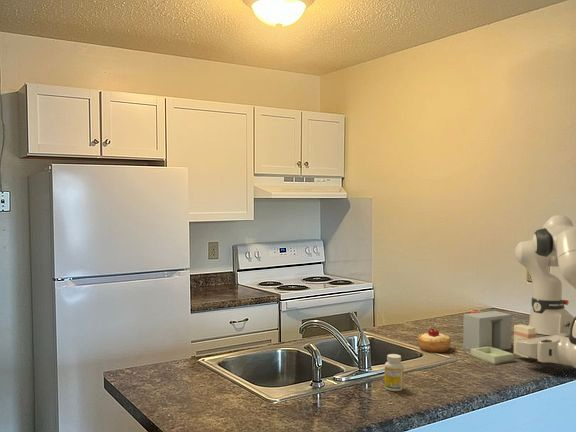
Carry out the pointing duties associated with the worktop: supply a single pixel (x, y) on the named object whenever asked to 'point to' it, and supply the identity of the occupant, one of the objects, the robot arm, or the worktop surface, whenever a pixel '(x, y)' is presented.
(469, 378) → the worktop surface
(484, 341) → the dispenser
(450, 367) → the worktop surface
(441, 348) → the pastry
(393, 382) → the supplement bottle
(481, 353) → the tray
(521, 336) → the pink striped block
